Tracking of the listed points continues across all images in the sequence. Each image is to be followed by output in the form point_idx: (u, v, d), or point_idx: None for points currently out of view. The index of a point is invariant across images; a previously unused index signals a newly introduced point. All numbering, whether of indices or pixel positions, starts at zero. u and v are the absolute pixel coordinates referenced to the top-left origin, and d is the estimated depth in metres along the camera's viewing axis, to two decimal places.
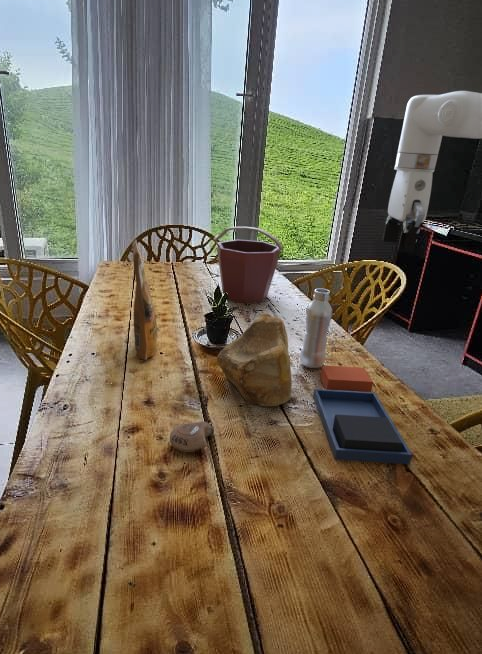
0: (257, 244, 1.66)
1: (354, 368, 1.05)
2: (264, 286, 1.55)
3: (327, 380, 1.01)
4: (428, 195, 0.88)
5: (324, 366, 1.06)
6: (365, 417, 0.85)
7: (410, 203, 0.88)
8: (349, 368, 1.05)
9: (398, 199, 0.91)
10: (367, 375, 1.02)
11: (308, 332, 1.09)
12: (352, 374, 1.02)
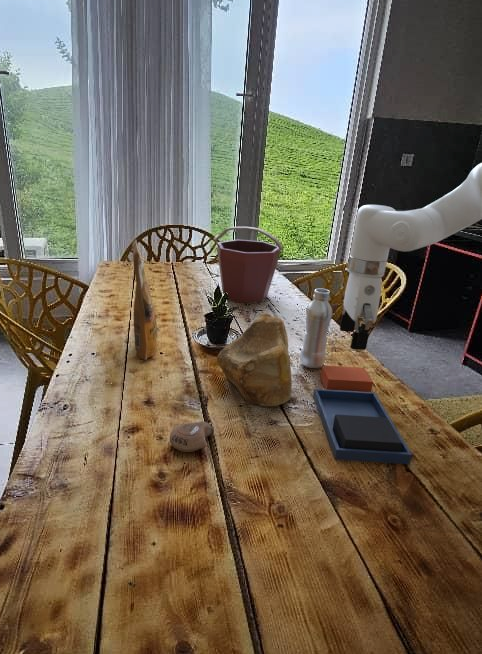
0: (257, 244, 1.66)
1: (354, 368, 1.05)
2: (264, 286, 1.55)
3: (327, 380, 1.01)
4: (378, 299, 0.91)
5: (324, 366, 1.06)
6: (365, 417, 0.85)
7: (361, 306, 0.92)
8: (349, 368, 1.05)
9: (351, 299, 0.95)
10: (367, 375, 1.02)
11: (308, 332, 1.09)
12: (352, 374, 1.02)
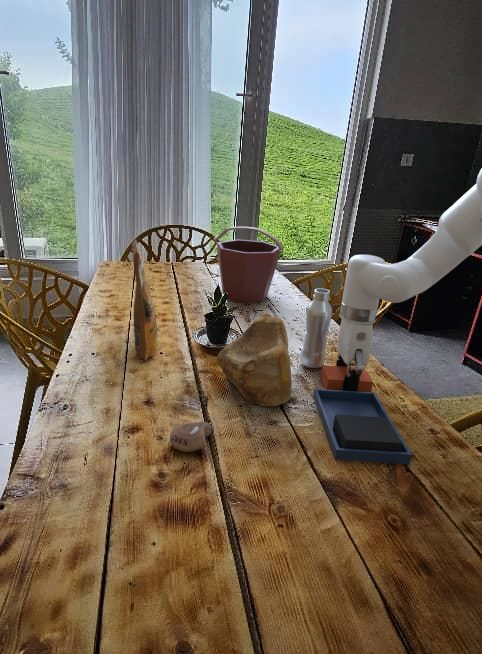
0: (257, 244, 1.66)
1: (354, 368, 1.05)
2: (264, 286, 1.55)
3: (327, 380, 1.01)
4: (369, 345, 0.95)
5: (324, 366, 1.06)
6: (365, 417, 0.85)
7: (353, 351, 0.95)
8: None
9: (344, 343, 0.98)
10: (367, 375, 1.02)
11: (308, 332, 1.09)
12: None
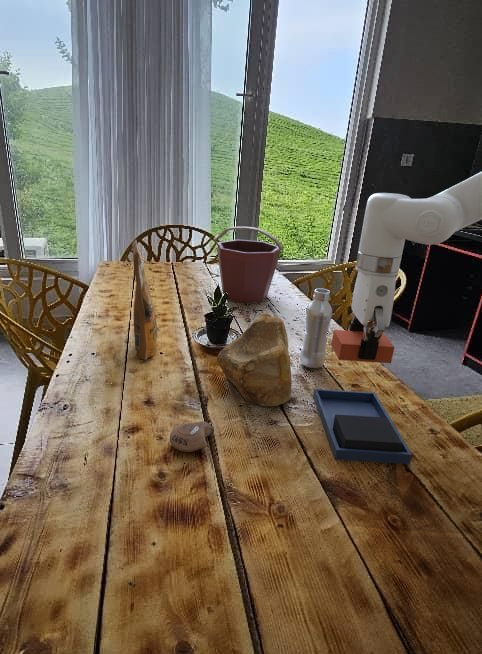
0: (257, 244, 1.66)
1: None
2: (264, 286, 1.55)
3: (340, 345, 0.85)
4: (391, 301, 0.79)
5: (336, 331, 0.90)
6: (365, 417, 0.85)
7: (372, 309, 0.80)
8: None
9: (360, 301, 0.83)
10: (387, 340, 0.87)
11: (308, 332, 1.09)
12: None
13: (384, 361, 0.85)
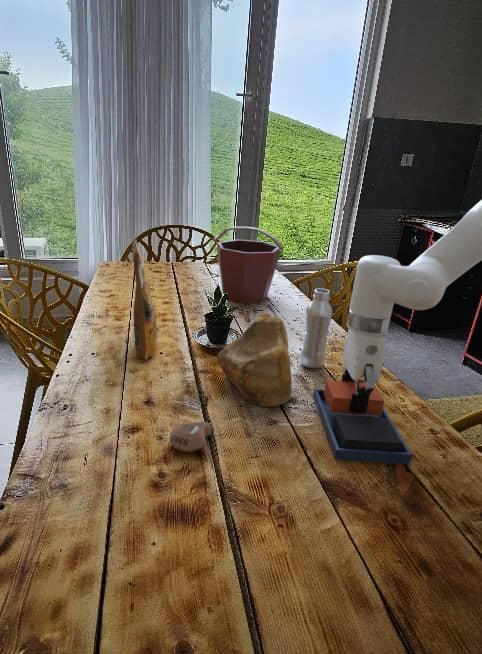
0: (257, 244, 1.66)
1: (362, 384, 0.93)
2: (264, 286, 1.55)
3: (332, 398, 0.88)
4: (381, 359, 0.82)
5: (328, 381, 0.93)
6: (365, 417, 0.85)
7: (362, 367, 0.83)
8: None
9: (351, 357, 0.86)
10: (377, 392, 0.90)
11: (308, 332, 1.09)
12: None
13: (374, 414, 0.88)
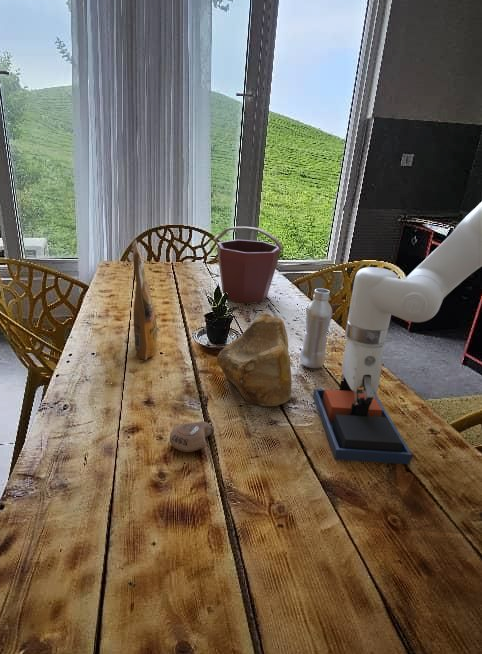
0: (257, 244, 1.66)
1: (361, 393, 0.93)
2: (264, 286, 1.55)
3: (330, 408, 0.89)
4: (379, 370, 0.83)
5: (327, 390, 0.94)
6: (365, 417, 0.85)
7: (360, 377, 0.84)
8: None
9: (349, 367, 0.87)
10: (375, 402, 0.91)
11: (308, 332, 1.09)
12: None
13: None
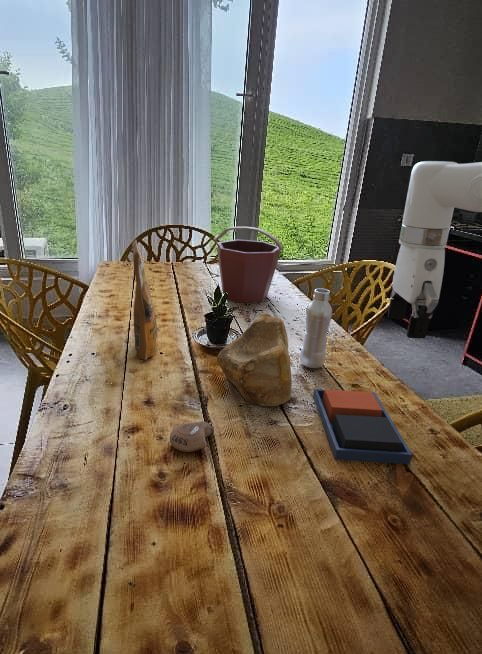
0: (257, 244, 1.66)
1: (361, 393, 0.93)
2: (264, 286, 1.55)
3: (330, 408, 0.89)
4: (440, 275, 0.75)
5: (327, 390, 0.94)
6: (365, 417, 0.85)
7: (420, 285, 0.75)
8: (355, 393, 0.93)
9: (405, 277, 0.78)
10: (375, 402, 0.91)
11: (308, 332, 1.09)
12: (358, 401, 0.91)
13: None
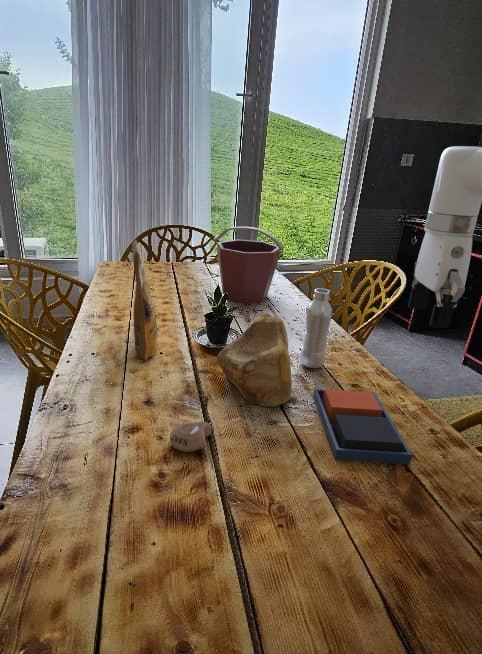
0: (257, 244, 1.66)
1: (361, 393, 0.93)
2: (264, 286, 1.55)
3: (330, 408, 0.89)
4: (467, 264, 0.73)
5: (327, 390, 0.94)
6: (365, 417, 0.85)
7: (445, 273, 0.74)
8: (355, 393, 0.93)
9: (430, 265, 0.77)
10: (375, 402, 0.91)
11: (308, 332, 1.09)
12: (358, 401, 0.91)
13: None
